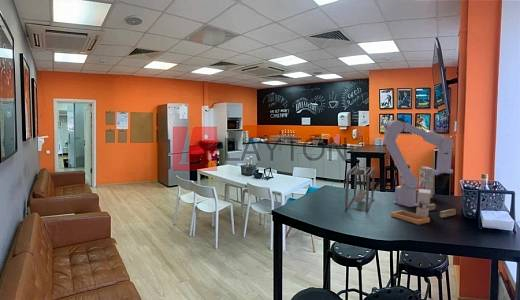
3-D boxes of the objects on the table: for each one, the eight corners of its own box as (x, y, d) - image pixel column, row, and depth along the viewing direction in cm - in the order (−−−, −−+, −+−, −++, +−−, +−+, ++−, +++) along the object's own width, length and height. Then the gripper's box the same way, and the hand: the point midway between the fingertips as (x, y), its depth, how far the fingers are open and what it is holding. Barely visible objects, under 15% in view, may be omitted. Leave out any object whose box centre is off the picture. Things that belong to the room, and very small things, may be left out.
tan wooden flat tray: (391, 216, 139) (391, 212, 139) (402, 213, 143) (402, 210, 143) (418, 224, 128) (418, 220, 128) (429, 222, 132) (430, 217, 132)
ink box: (416, 213, 145) (418, 188, 144) (429, 215, 142) (430, 189, 141) (415, 218, 137) (417, 191, 136) (428, 220, 135) (430, 193, 134)
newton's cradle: (367, 212, 145) (369, 174, 143) (344, 209, 149) (346, 172, 148) (373, 198, 172) (375, 166, 171) (353, 196, 176) (355, 165, 175)
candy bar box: (417, 193, 187) (419, 166, 186) (426, 193, 186) (428, 166, 185) (423, 197, 176) (425, 169, 175) (433, 198, 175) (435, 169, 174)
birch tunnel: (419, 211, 148) (419, 206, 148) (432, 208, 153) (433, 203, 153) (442, 217, 139) (442, 212, 138) (455, 214, 144) (456, 209, 144)
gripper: (443, 163, 149) (441, 191, 150) (459, 161, 156) (457, 188, 157) (429, 161, 155) (427, 188, 156) (445, 160, 162) (443, 185, 163)
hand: (441, 188), depth 157 cm, fingers closed
